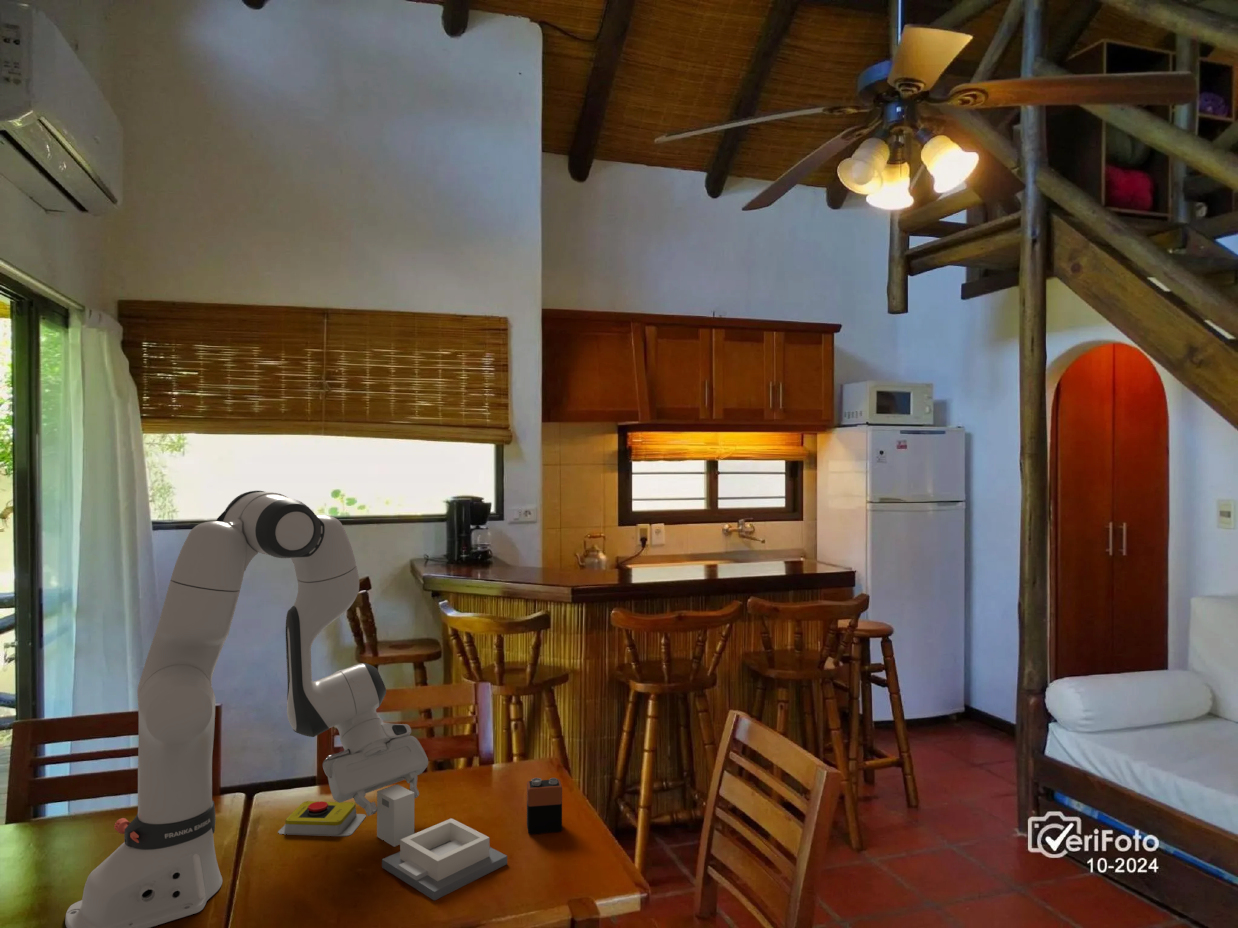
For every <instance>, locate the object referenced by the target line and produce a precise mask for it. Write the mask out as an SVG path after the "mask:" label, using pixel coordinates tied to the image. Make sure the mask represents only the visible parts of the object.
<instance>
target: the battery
mask: <svg viewBox="0 0 1238 928" xmlns="http://www.w3.org/2000/svg"><path fill="white" fill-rule="evenodd" d="M526 829H527V833H528V834H529V835H536V834H548V833H559V832H562V831H563V787H562V782H561V780H560V779H558V778H556V777H551V778H549V779H542V778H539V777H534V778H532V779H531V780H529V781H527V783H526Z"/></svg>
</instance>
